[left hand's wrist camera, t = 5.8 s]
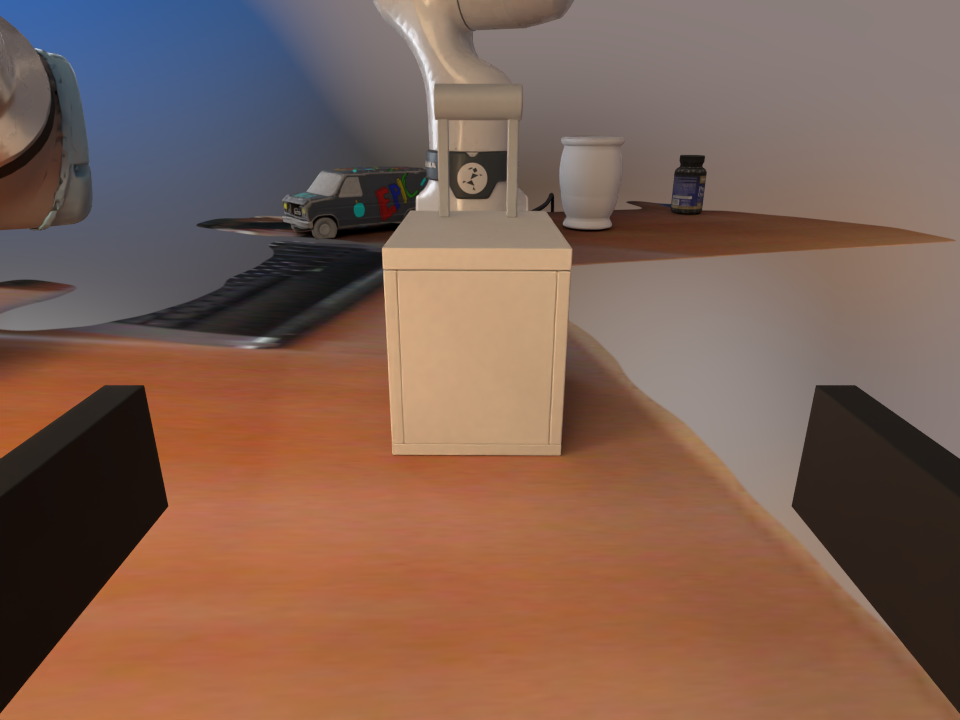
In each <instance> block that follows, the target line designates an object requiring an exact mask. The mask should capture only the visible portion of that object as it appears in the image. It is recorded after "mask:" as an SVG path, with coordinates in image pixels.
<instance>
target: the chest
mask: <svg viewBox="0 0 960 720" xmlns="http://www.w3.org/2000/svg"><path fill="white" fill-rule="evenodd" d="M383 275H384V294H385V314H386V333H387V353H388V372H389V392H390V411H391V431H392V452H393V455H561V443H562V425H563V407H564V389H565V371H566V353H567V336H568V318H569V300H570V282H571V271H570V270H384V272H383Z"/></svg>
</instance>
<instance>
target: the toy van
mask: <svg viewBox="0 0 960 720" xmlns="http://www.w3.org/2000/svg"><path fill="white" fill-rule="evenodd" d="M428 181H429V179H428V178H427V177H426V169H424V168H414V167H357V168H341V169H329V170H325V171H322V172H320V174H319V175H318V176H317V178H316V179H315V181H314V182H313V183H312V185H311V186H310V188H309V189H308V190H307V191H306V192H301V193H296V194H290V195H287V196H286V197H285V198H284V199H283V200H282V203H283V208H284V212H285V215H286V216H282V218H283V221H284V222H287V223H290V224H291V227H292V229H293V230H294V231H295V232H297V231H307V230H311V231H312V234H313V236H314V237H315V239H325V238H334V237H335V236H336V234H337V227H349V226H359V225H369V224H379V223H391V222H402V221H403V220H404V218H405V217H406V216H407V214H408V213H409V212H410V211H416V196H418V195H419V193H420V192H421V191H422V190H424V188H425V187H426V185H427V183H428ZM336 226H337V227H336Z"/></svg>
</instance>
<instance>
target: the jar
mask: <svg viewBox="0 0 960 720" xmlns="http://www.w3.org/2000/svg"><path fill="white" fill-rule="evenodd" d="M561 142H562V144H563V145H564V150H563V153H562V157H561V163H560V172H559V181H560V190H561V201H562V206H563V210H564V212H565V214H566V219H565V220H564V222H563V225H564V226H565V227H568V228H573V229H581V230H600V229H607V228H610V227H611V226H612V223H611V221H610V215H611V214H612V212H613V210H614V208H615V205H616V202H617V198H618V193H619V189H620V185H621V180H622V167H623V165H622V153H621V145H623V144H624V142H625V140H624V138H622V137H617V136H566V137H562V139H561Z"/></svg>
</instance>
